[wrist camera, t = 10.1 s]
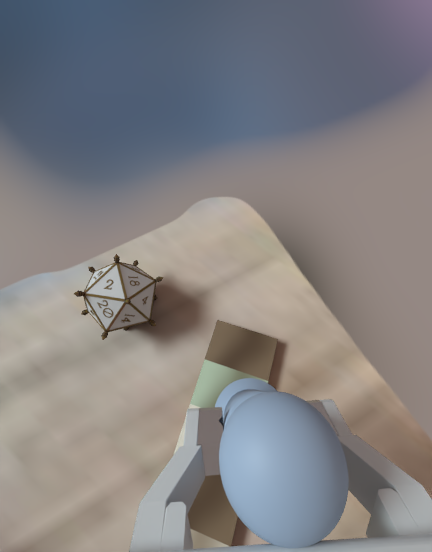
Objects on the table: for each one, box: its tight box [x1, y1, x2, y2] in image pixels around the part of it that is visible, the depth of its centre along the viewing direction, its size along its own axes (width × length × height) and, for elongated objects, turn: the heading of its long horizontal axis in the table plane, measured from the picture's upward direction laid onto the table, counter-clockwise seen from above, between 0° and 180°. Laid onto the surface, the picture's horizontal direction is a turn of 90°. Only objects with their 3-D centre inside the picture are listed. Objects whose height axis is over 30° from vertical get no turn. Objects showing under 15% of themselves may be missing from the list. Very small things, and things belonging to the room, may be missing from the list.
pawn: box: [215, 378, 349, 548], centre depth 11 cm, size 4×4×11 cm
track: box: [173, 320, 278, 549], centre depth 24 cm, size 7×22×1 cm, turn 162°
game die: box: [74, 254, 163, 340], centre depth 27 cm, size 9×8×10 cm
